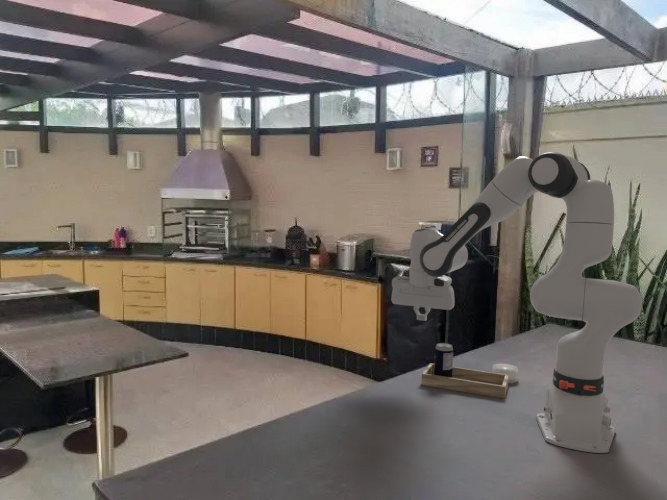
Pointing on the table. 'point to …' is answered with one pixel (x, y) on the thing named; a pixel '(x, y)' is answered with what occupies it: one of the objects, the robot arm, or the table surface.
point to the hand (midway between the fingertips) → (421, 320)
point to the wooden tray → (468, 381)
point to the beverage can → (443, 360)
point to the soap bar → (507, 371)
